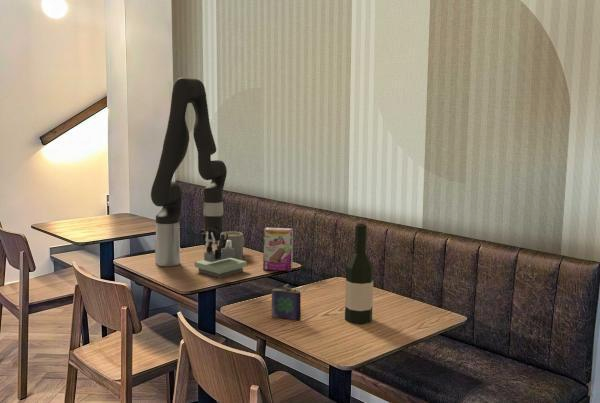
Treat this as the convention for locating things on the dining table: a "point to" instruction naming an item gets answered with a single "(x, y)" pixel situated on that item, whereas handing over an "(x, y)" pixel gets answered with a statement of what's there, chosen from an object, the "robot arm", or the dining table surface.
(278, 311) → the flask
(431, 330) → the dining table surface
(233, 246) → the coffee mug
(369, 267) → the wine bottle
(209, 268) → the green lidded box
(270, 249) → the candy bar box
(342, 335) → the dining table surface
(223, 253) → the grey white knobbed block
